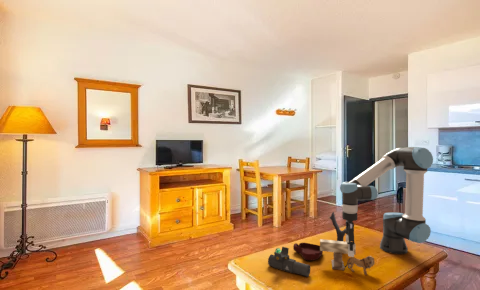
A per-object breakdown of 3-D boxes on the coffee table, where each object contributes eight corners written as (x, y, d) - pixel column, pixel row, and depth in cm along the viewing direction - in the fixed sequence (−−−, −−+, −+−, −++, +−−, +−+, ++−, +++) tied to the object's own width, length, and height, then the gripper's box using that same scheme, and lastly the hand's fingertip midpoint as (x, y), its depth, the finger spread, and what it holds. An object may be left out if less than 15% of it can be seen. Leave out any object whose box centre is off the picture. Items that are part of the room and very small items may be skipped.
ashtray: (331, 260, 154) (331, 251, 154) (305, 263, 149) (305, 255, 149) (314, 248, 171) (314, 240, 171) (291, 251, 166) (291, 243, 166)
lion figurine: (374, 272, 139) (374, 255, 139) (374, 276, 135) (374, 259, 134) (344, 266, 146) (344, 249, 146) (343, 270, 141) (343, 253, 141)
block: (354, 251, 146) (354, 242, 146) (355, 254, 142) (355, 245, 142) (320, 247, 151) (320, 239, 151) (320, 250, 147) (320, 241, 147)
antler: (342, 247, 172) (342, 208, 171) (351, 252, 164) (351, 211, 164) (327, 250, 168) (327, 210, 168) (335, 255, 160) (335, 213, 160)
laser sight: (304, 281, 131) (304, 260, 131) (264, 268, 144) (264, 249, 144) (311, 273, 139) (311, 253, 139) (273, 261, 152) (273, 244, 152)
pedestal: (342, 263, 150) (343, 248, 150) (344, 270, 141) (344, 255, 141) (331, 261, 152) (331, 247, 152) (332, 268, 143) (332, 253, 143)
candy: (290, 259, 152) (286, 254, 152) (285, 263, 152) (282, 258, 151) (281, 251, 164) (278, 246, 163) (277, 255, 163) (273, 250, 163)
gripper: (340, 206, 158) (340, 242, 158) (344, 217, 134) (344, 260, 134) (354, 207, 155) (354, 243, 156) (360, 218, 131) (360, 261, 132)
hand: (349, 251), depth 145 cm, fingers open, 13 cm apart
